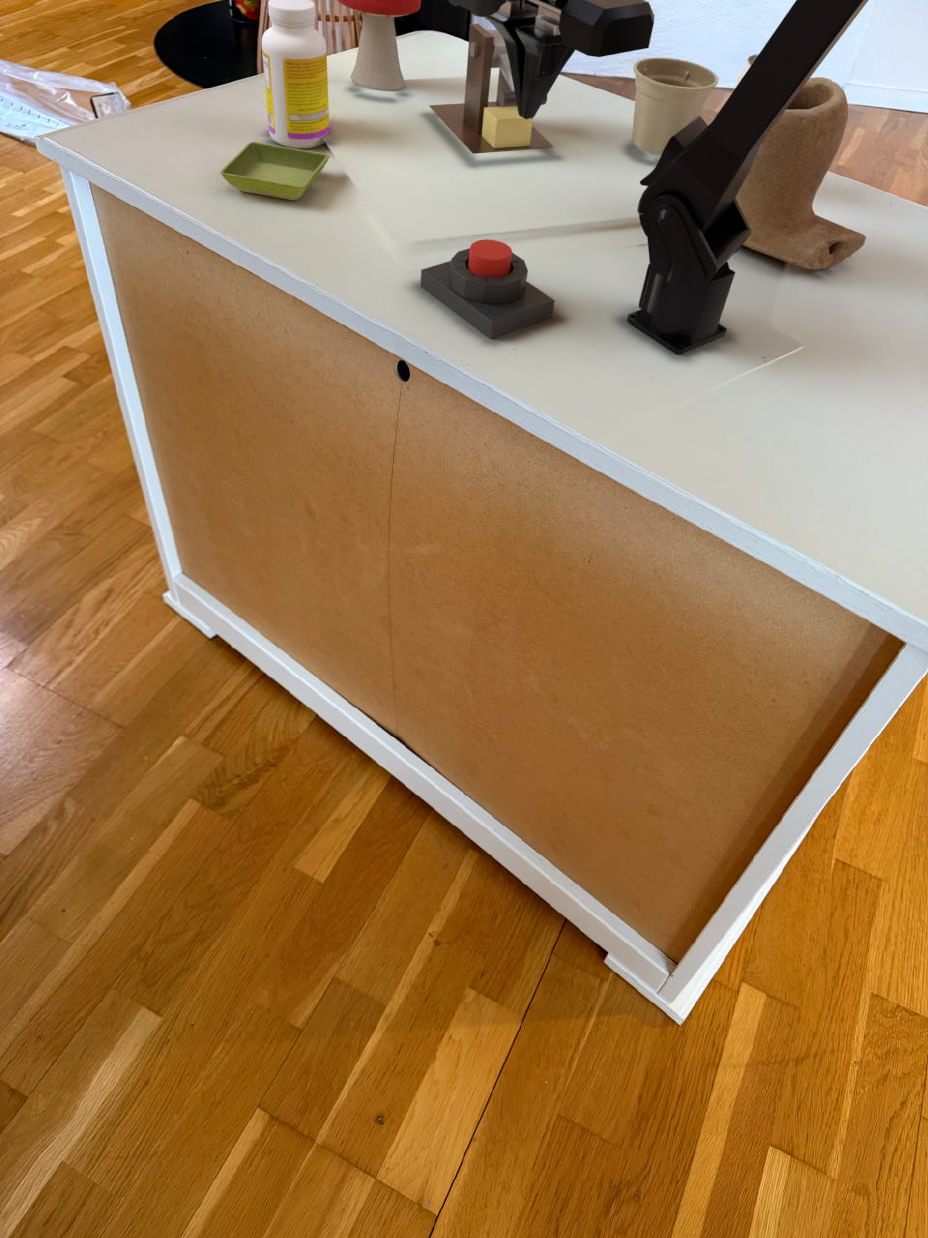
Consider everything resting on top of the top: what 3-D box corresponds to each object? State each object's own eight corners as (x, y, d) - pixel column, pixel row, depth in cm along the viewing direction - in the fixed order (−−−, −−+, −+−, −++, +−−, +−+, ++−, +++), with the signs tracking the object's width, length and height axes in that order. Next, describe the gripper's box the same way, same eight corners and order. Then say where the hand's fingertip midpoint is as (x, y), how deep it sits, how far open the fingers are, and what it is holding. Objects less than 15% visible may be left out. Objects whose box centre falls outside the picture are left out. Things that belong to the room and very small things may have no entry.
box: (551, 317, 78) (558, 280, 75) (490, 340, 75) (494, 301, 72) (480, 268, 83) (484, 231, 80) (420, 287, 80) (422, 249, 77)
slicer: (553, 157, 101) (569, 49, 93) (471, 164, 98) (481, 53, 90) (504, 110, 109) (515, 7, 101) (428, 115, 106) (432, 10, 98)
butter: (529, 145, 100) (533, 117, 97) (493, 148, 98) (496, 119, 96) (516, 133, 102) (520, 104, 100) (481, 135, 100) (483, 106, 98)
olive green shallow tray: (252, 160, 94) (250, 139, 93) (331, 174, 93) (331, 153, 92) (220, 194, 88) (218, 172, 87) (305, 209, 88) (303, 187, 86)
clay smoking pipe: (671, 234, 91) (714, 70, 79) (735, 204, 97) (783, 47, 85) (800, 296, 84) (866, 126, 73) (859, 259, 90) (929, 98, 79)
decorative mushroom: (428, 89, 112) (435, -57, 101) (400, 111, 106) (404, -41, 95) (356, 73, 114) (355, -72, 102) (325, 93, 108) (320, -58, 97)
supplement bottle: (341, 138, 100) (339, 3, 90) (304, 155, 96) (297, 17, 86) (295, 121, 102) (287, -12, 92) (256, 138, 98) (244, 0, 88)
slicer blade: (543, 111, 96) (549, 90, 94) (501, 114, 94) (506, 92, 92) (511, 50, 99) (516, 28, 97) (469, 51, 98) (474, 29, 96)
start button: (518, 272, 76) (520, 253, 75) (485, 283, 75) (487, 263, 73) (491, 255, 78) (494, 235, 77) (459, 264, 76) (461, 245, 75)
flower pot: (713, 163, 104) (736, 80, 97) (654, 176, 100) (674, 91, 93) (659, 133, 109) (678, 52, 102) (601, 145, 105) (616, 62, 98)
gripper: (384, -150, 63) (381, 93, 75) (560, -85, 54) (525, 179, 66) (505, -154, 68) (484, 74, 80) (684, -96, 59) (631, 152, 71)
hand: (526, 117), depth 74 cm, fingers closed
